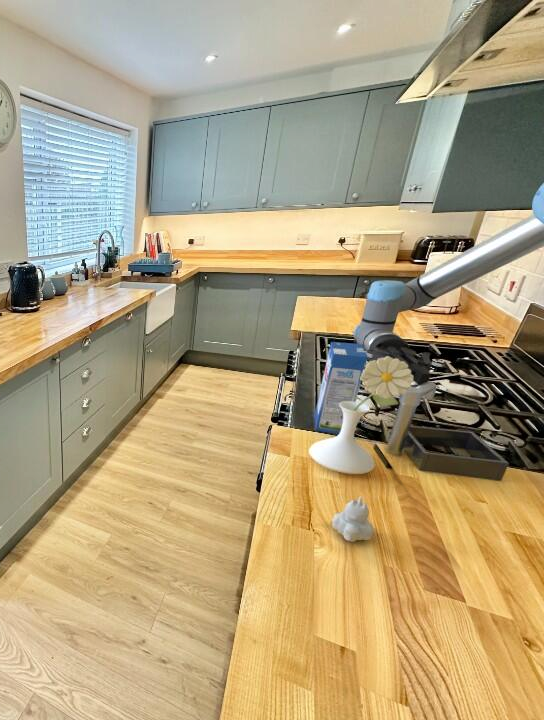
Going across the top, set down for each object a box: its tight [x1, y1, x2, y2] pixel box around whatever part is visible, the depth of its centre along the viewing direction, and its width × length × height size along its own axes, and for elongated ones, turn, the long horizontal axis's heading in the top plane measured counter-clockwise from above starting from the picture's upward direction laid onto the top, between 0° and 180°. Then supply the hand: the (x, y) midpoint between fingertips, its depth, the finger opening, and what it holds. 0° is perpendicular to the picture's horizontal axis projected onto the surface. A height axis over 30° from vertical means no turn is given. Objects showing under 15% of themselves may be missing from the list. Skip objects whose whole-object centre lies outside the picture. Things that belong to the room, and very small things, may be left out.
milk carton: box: [314, 341, 368, 435], centre depth 101 cm, size 10×6×20 cm, turn 149°
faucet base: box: [373, 402, 418, 469], centre depth 87 cm, size 4×8×13 cm, turn 159°
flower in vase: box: [308, 356, 414, 475], centre depth 84 cm, size 13×11×25 cm
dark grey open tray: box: [402, 425, 510, 482], centre depth 86 cm, size 12×12×6 cm
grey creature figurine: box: [331, 496, 374, 543], centre depth 69 cm, size 5×7×8 cm
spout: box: [398, 381, 437, 407], centre depth 86 cm, size 11×3×4 cm, turn 119°
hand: (424, 379), depth 91 cm, fingers closed
